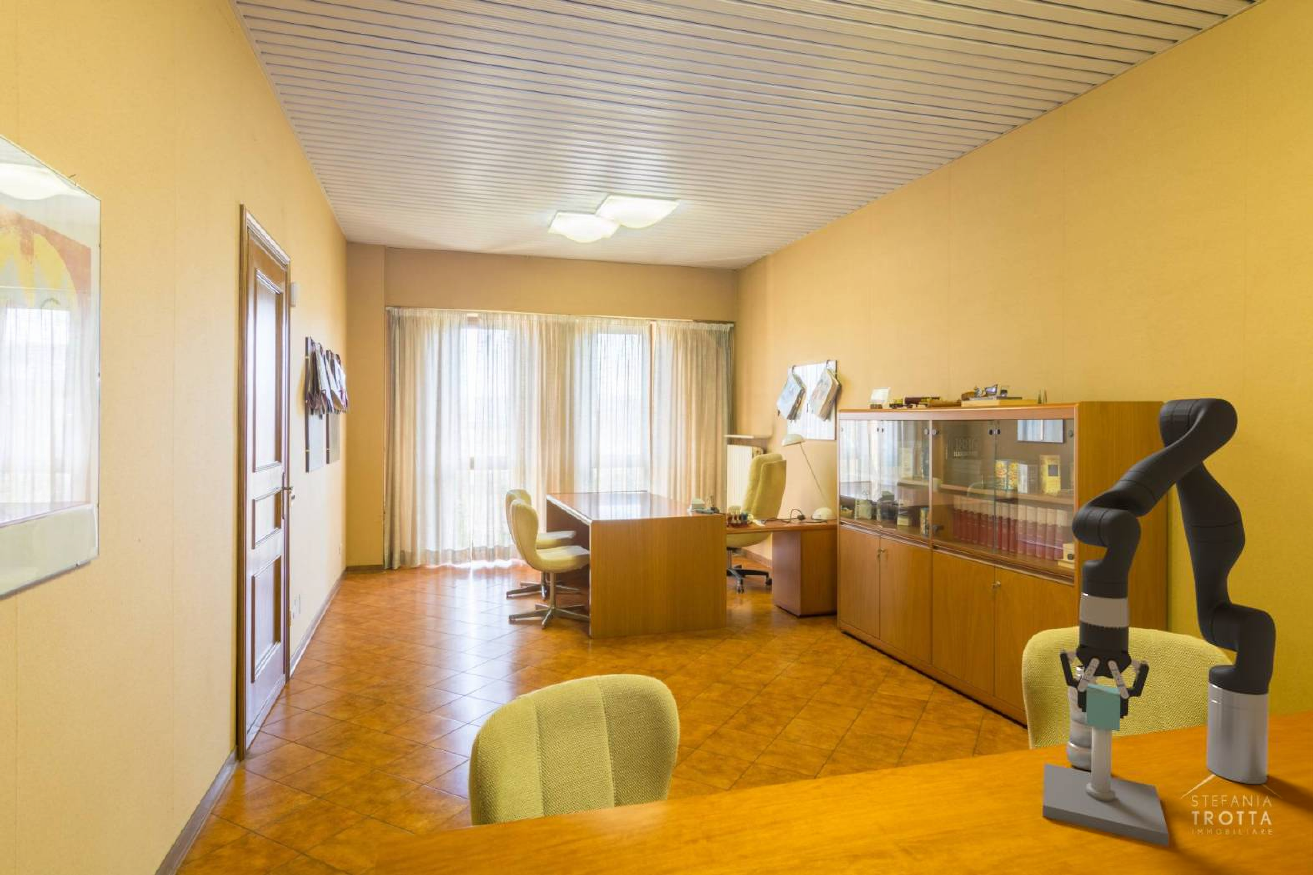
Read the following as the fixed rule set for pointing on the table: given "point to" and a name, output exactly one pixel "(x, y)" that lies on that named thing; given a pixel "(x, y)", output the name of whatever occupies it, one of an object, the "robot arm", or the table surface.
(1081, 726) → the plastic bottle
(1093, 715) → the teal cube
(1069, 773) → the post stand
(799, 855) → the table surface
